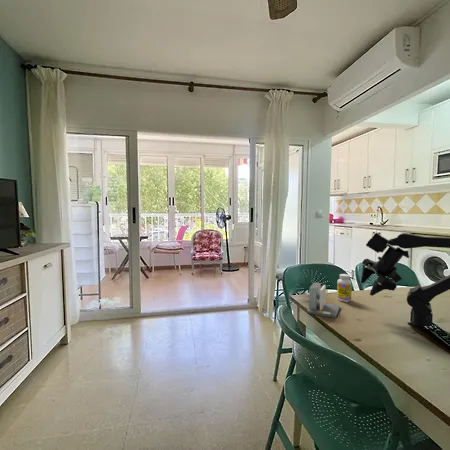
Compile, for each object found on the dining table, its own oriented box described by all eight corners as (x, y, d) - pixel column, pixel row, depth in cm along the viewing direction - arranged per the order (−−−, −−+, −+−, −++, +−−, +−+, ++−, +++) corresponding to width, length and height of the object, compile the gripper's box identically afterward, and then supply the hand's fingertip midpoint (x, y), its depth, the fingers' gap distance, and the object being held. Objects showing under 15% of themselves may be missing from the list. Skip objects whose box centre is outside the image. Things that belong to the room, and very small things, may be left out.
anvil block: (320, 303, 127) (320, 283, 126) (316, 310, 118) (316, 288, 118) (313, 302, 128) (314, 282, 128) (309, 309, 120) (309, 287, 119)
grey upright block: (325, 303, 125) (325, 285, 125) (321, 311, 115) (321, 291, 115) (309, 301, 129) (309, 283, 128) (303, 308, 119) (303, 289, 119)
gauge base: (340, 307, 124) (340, 305, 124) (335, 318, 112) (335, 315, 112) (313, 303, 130) (313, 301, 130) (306, 312, 118) (306, 310, 118)
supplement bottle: (336, 300, 134) (336, 275, 133) (337, 297, 140) (337, 272, 139) (351, 302, 131) (351, 277, 130) (351, 299, 136) (352, 274, 136)
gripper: (419, 280, 101) (393, 310, 106) (394, 257, 118) (372, 284, 123) (394, 268, 100) (369, 299, 105) (372, 247, 117) (351, 274, 123)
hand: (366, 288), depth 114 cm, fingers open, 9 cm apart
